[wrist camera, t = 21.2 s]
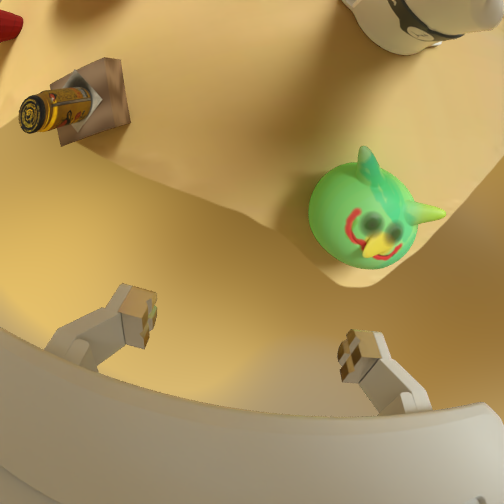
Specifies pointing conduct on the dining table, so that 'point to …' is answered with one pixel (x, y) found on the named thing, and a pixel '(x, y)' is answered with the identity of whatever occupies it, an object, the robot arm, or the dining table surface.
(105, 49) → the dining table surface
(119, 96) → the walnut block
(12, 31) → the plastic cup
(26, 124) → the condiment
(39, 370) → the robot arm
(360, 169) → the toy bird
